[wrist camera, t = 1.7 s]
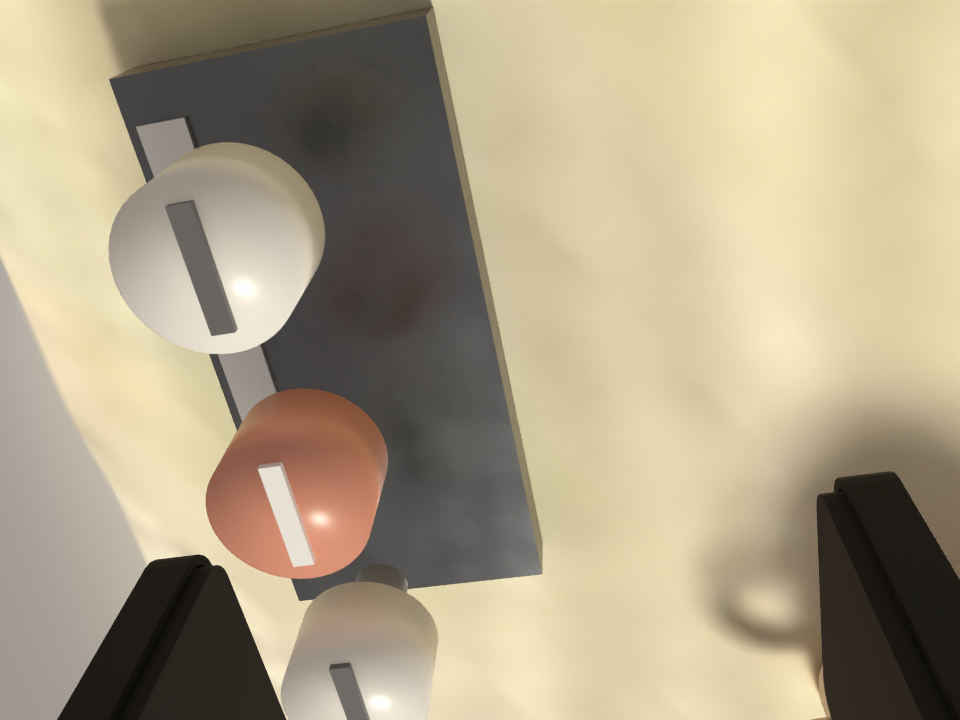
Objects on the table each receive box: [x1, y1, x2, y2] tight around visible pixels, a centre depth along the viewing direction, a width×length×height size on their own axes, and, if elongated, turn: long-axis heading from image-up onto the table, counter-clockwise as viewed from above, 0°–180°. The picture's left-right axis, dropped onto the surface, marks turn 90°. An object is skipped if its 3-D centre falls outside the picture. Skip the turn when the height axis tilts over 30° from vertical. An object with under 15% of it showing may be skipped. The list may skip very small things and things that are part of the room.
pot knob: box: [206, 388, 388, 579], centre depth 26 cm, size 4×4×5 cm
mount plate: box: [109, 7, 542, 601], centre depth 33 cm, size 21×10×2 cm, turn 11°
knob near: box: [109, 142, 325, 354], centre depth 23 cm, size 4×4×5 cm
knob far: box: [281, 564, 438, 720], centre depth 29 cm, size 4×4×5 cm
